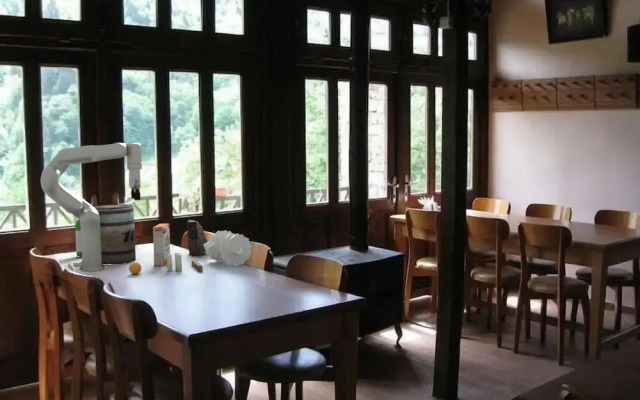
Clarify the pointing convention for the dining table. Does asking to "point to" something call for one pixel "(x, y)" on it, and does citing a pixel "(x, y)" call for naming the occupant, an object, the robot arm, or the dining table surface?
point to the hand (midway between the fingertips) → (135, 199)
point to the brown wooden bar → (197, 265)
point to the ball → (135, 268)
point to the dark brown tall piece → (196, 239)
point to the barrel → (117, 233)
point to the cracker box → (161, 244)
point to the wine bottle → (78, 238)
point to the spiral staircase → (228, 248)
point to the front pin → (169, 262)
